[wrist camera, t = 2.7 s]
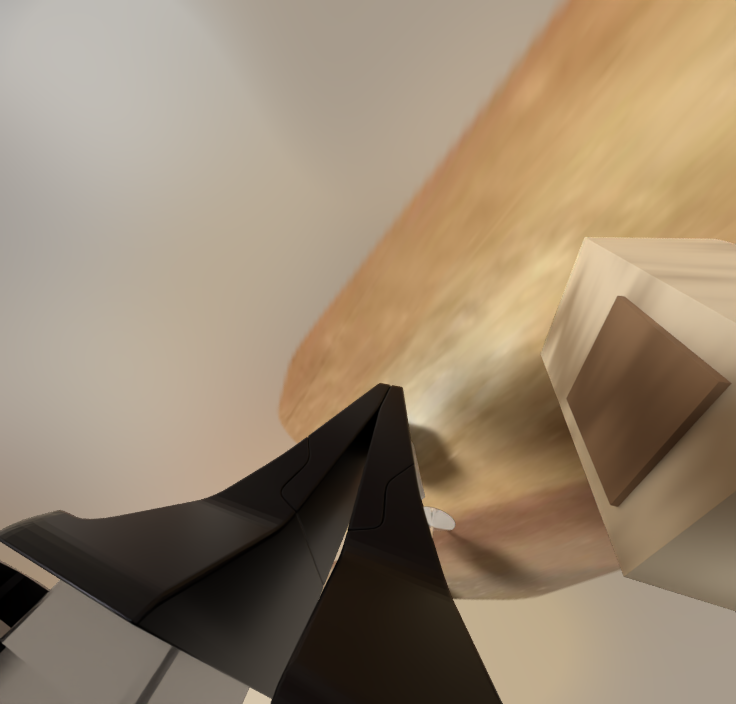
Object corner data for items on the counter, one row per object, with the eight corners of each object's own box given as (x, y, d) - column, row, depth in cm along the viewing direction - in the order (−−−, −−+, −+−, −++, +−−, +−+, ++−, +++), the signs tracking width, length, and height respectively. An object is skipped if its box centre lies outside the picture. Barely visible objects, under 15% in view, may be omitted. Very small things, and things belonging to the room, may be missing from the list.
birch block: (636, 365, 16) (884, 657, 6) (536, 353, 17) (615, 574, 8) (716, 239, 12) (1679, 497, 2) (579, 236, 13) (842, 391, 4)
